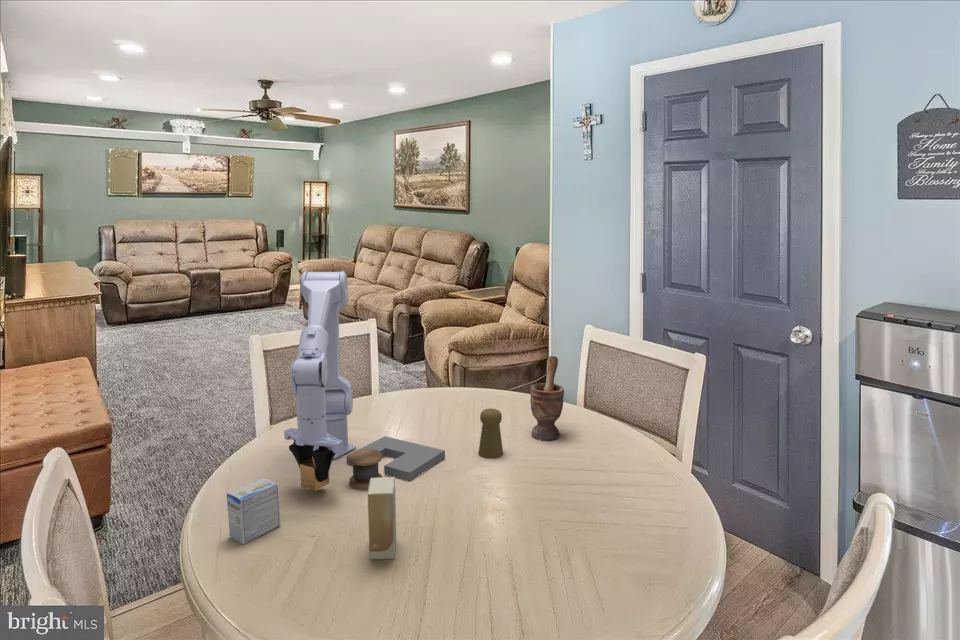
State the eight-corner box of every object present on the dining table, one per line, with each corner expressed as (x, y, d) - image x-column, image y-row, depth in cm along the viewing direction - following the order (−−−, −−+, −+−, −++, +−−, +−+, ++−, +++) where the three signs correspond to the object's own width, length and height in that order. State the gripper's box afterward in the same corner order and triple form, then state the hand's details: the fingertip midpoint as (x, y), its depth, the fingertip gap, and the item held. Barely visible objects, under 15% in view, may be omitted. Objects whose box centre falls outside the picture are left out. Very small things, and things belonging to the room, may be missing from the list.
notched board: (346, 463, 139) (346, 455, 139) (385, 443, 151) (384, 436, 151) (409, 481, 131) (409, 472, 130) (444, 458, 143) (444, 450, 142)
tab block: (301, 486, 125) (299, 463, 124) (315, 479, 128) (314, 457, 127) (315, 491, 123) (314, 468, 122) (329, 483, 126) (328, 460, 125)
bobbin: (342, 484, 129) (341, 458, 128) (364, 472, 135) (363, 446, 134) (368, 491, 126) (367, 464, 124) (389, 479, 132) (388, 453, 130)
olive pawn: (501, 459, 142) (501, 415, 140) (475, 457, 143) (476, 413, 141) (505, 449, 148) (505, 407, 146) (480, 447, 149) (481, 405, 147)
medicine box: (266, 519, 114) (263, 476, 113) (281, 526, 112) (278, 482, 110) (229, 537, 108) (225, 492, 106) (244, 545, 106) (240, 499, 104)
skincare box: (372, 540, 107) (370, 476, 105) (396, 539, 108) (395, 475, 105) (368, 561, 101) (366, 493, 99) (394, 560, 101) (393, 492, 99)
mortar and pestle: (526, 425, 164) (528, 354, 161) (558, 425, 165) (560, 354, 161) (531, 441, 153) (532, 365, 149) (565, 441, 153) (567, 365, 150)
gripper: (271, 414, 123) (275, 477, 125) (323, 427, 115) (327, 493, 118) (297, 405, 129) (300, 464, 131) (348, 417, 121) (351, 479, 124)
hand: (314, 477), depth 125 cm, fingers closed on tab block, 4 cm apart
